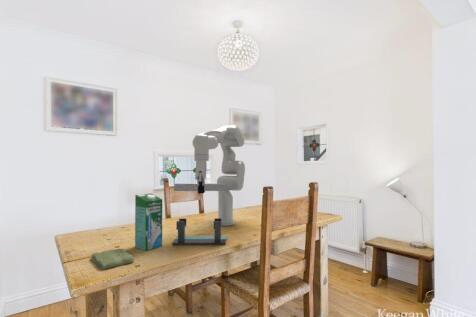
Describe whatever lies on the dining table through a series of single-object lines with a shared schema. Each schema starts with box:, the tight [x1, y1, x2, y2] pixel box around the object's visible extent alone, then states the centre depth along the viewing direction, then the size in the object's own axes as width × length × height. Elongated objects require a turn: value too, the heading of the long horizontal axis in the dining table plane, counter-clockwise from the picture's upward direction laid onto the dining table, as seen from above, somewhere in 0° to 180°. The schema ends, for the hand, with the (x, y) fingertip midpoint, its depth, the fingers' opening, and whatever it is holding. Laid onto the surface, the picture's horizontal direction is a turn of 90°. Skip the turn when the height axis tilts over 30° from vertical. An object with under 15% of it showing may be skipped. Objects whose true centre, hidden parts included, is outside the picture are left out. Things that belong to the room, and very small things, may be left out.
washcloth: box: [90, 248, 135, 270], centre depth 109 cm, size 13×18×3 cm
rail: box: [173, 183, 228, 192], centre depth 139 cm, size 4×28×4 cm, turn 91°
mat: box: [173, 235, 228, 241], centre depth 139 cm, size 6×27×1 cm, turn 91°
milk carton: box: [134, 193, 163, 252], centre depth 127 cm, size 9×9×25 cm
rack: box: [171, 217, 227, 246], centre depth 132 cm, size 7×26×12 cm, turn 91°
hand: (201, 192), depth 139 cm, fingers closed on rail, 3 cm apart
